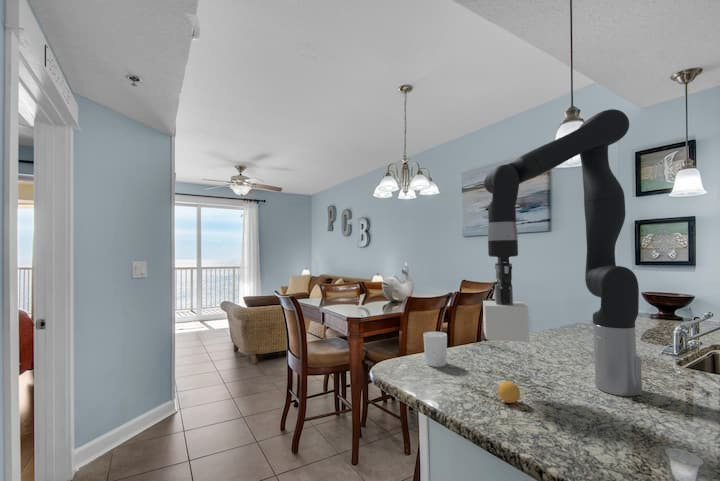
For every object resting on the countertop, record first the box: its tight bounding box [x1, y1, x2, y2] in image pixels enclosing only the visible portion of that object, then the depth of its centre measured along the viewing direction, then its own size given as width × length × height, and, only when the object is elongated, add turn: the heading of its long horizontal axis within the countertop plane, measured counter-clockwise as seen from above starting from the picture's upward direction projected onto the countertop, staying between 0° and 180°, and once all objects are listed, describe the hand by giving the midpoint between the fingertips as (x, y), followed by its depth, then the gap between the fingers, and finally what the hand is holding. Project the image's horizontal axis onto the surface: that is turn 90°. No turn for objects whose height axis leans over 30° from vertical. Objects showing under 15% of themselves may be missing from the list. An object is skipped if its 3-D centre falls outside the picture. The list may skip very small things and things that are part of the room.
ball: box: [497, 380, 521, 404], centre depth 86 cm, size 5×5×5 cm
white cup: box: [422, 331, 448, 368], centre depth 116 cm, size 8×8×10 cm
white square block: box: [482, 283, 530, 343], centre depth 93 cm, size 10×10×14 cm
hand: (504, 301), depth 93 cm, fingers closed on white square block, 4 cm apart
